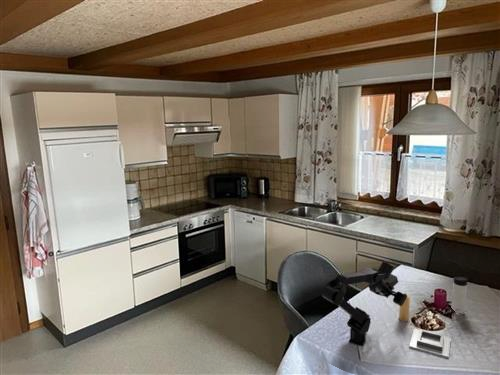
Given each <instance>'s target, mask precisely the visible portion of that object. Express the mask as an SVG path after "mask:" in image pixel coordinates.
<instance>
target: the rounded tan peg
mask: <svg viewBox="0 0 500 375" xmlns="http://www.w3.org/2000/svg"><path fill="white" fill-rule="evenodd" d="M406 295H407V298H406V300H405V302H404V303H403V305H402V306H399V313H398V319H399V321H402V322H408V321H409V320H410V319H409V318H410V317H409V316H410V304H411V303H410V302H411V296H410V295H409V294H407V293H406Z"/></svg>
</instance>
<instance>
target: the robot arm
mask: <svg viewBox="0 0 500 375" xmlns="http://www.w3.org/2000/svg"><path fill="white" fill-rule="evenodd" d="M394 270H395V267H394V266H393V265H391V264H390V263H388V262H387V261H384V260H383V261H382V262H381V264H380V267H379V268H378V269H376V268H374V267H373V268H372V267H371V268H370V267H367V268H363V269H362V270H361V271H359V272H353V273H351V272H350V273H344V274H341V273H339V274H337V276H336V277H335V278H333V279H332V280H330V281H328V282H327V283H326V285H325V286H324V287H323V289H322V291H321V296H322V297H323V298H324V299H326V301H329V302H330V303H332V304H334V305H335V306H338V307H339V308H340V309H342V310H343V311H344V312H345V313H346V314H348V315H349V319H348V321H347V327H349V328H350V330H349V332H350V333H349V340H348V342H349V343H351V344H354V345H358V346H362V347H363V346H364V344H365V343H366V342H367V333H368V332H369V329H370V327H371V317H370V316H371V315H369V313H367V312H366V311H365V310H362V309H361V308H359V307H357V306H355V307H354V306H353V305H352V304H351V303H349V302H348V301H347V300H346V299H345V295H346V293H347V287H349V285H355V284H362V283H367V284H368V286H367V287H368V288H369V291H370V292H372V293H373V294H375V295H378V296H381V297H385V298H386V299H388V298H389V297H390V296H391V297H393V298H392V302H393V303H394V304H395V305H397V306H399V307H400V306H402V305H403V303H404V302H405V300H406V298H407V295H408V294H407V293H405V292H403V291H401V290H397V291H395V286H396V285H397V284H398V283H399V280H398V277H397V275H394V274H392V273H393V271H394ZM338 285H341V288H340V290H338V289H336V288H334V287H336V286H338ZM406 294H407V295H406Z"/></svg>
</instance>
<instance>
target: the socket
mask: <svg viewBox="0 0 500 375" xmlns="http://www.w3.org/2000/svg"><path fill="white" fill-rule="evenodd" d="M451 339H452V338H451V336H447V335H444V334H440V333H437V332H434V331H430V330H424V329H420V328H419V329H418V328H413V331H412V335H411V338H410V343H409V348H410V349H413V350H417V351H421V352H424V353H428V354H432V355H435V356H439V357H442V358H445V359H449V356H450V350H451V349H450V346H451Z"/></svg>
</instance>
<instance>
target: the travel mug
mask: <svg viewBox="0 0 500 375" xmlns="http://www.w3.org/2000/svg"><path fill="white" fill-rule="evenodd" d="M467 289H468V278H467V277H464V276H456V277H455V276H454V277H453V285H452V295H451V308H452V309H453V310H454V311H455V312H456V313H458V314H459V315H458V316H463V315H465V309H466V300H467V291H468V290H467ZM451 308H450V309H451Z"/></svg>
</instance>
